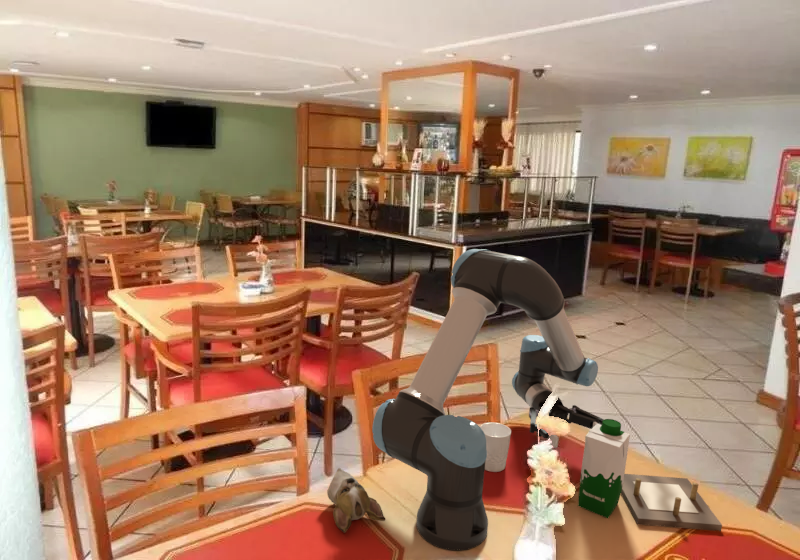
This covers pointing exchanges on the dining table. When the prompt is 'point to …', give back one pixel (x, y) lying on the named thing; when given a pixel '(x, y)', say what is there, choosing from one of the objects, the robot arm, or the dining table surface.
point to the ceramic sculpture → (351, 501)
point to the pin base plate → (667, 502)
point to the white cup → (496, 445)
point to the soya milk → (603, 467)
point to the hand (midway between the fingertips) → (582, 441)
